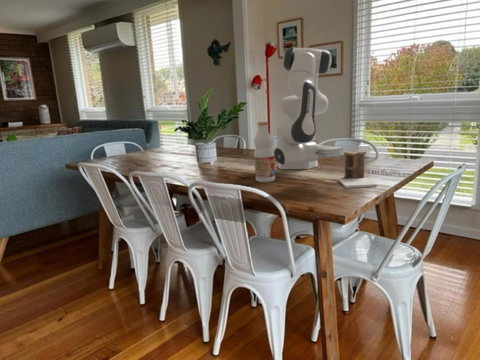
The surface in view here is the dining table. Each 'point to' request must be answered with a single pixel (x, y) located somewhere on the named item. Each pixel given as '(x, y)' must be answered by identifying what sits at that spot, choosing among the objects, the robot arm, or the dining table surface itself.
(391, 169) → the dining table surface
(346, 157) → the stool
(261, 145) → the fruit juice
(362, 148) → the shot glass
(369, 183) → the mat
